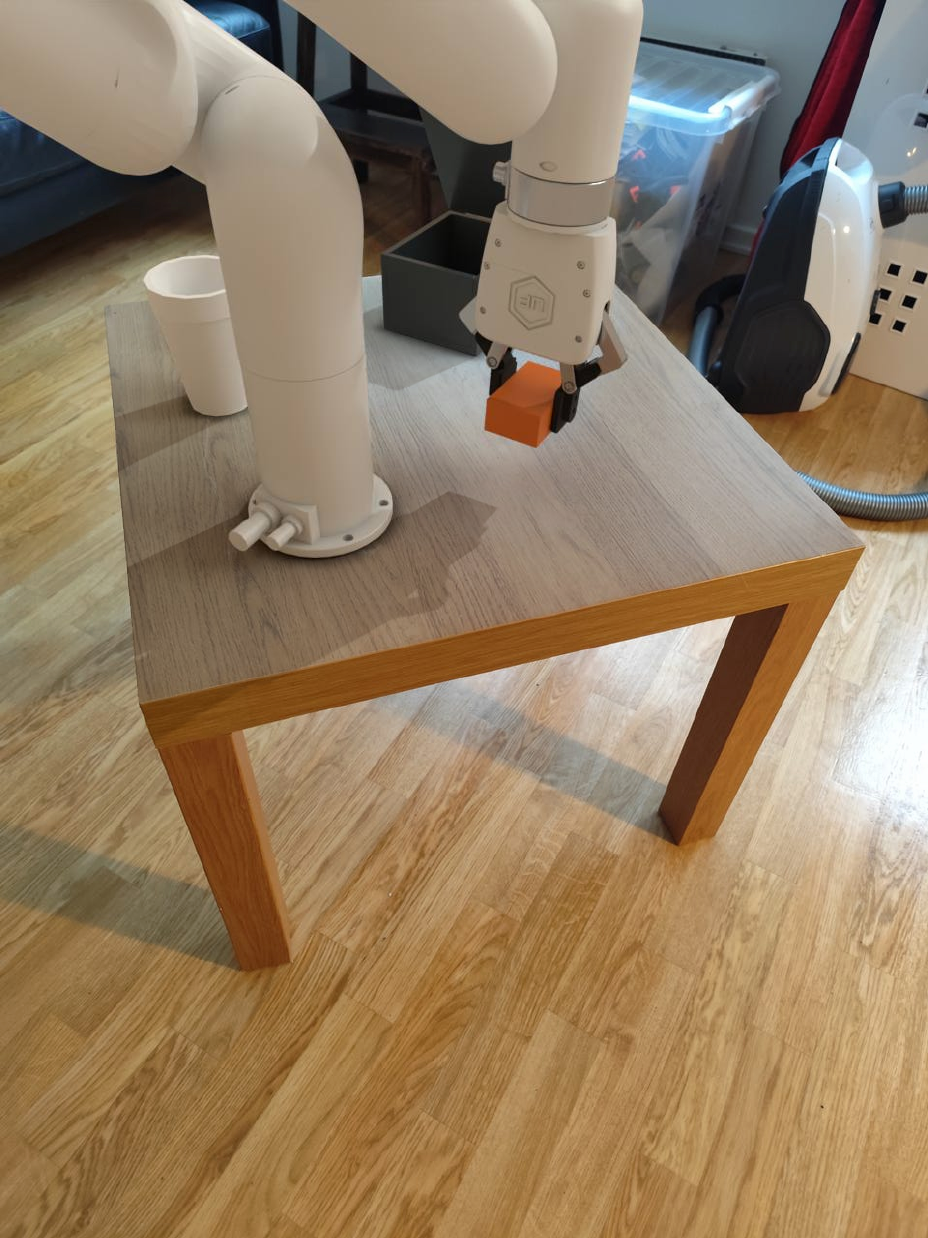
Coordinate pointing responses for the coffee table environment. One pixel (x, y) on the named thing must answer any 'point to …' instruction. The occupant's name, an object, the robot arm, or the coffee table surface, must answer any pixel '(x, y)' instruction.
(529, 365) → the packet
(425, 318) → the bin
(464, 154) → the lid
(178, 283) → the foam cup
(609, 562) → the coffee table surface
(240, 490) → the coffee table surface
